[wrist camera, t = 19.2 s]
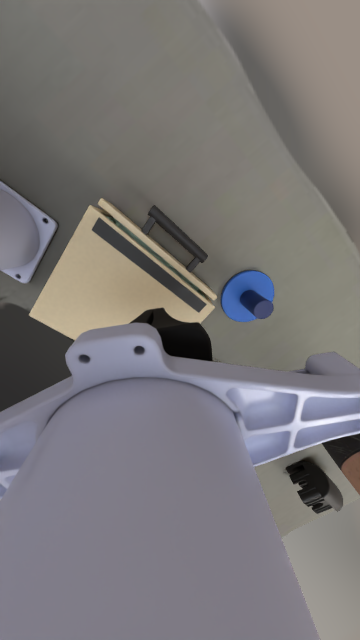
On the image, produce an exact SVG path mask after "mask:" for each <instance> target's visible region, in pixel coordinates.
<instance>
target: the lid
mask: <svg viewBox="0 0 360 640" xmlns="http://www.w3.org/2000/svg"><path fill="white" fill-rule="evenodd" d="M273 297H274V287H273V283H272V281H271V280H270V278H269V277H268V276H267V275H265V274H264V273H261V272H259V271H254V270H248V271H243V272H241V273H238V274H237V275H235V276H234V277H232V278H231V279H230V280H229V281H228V282H227V284H226V285H225V287H224V289H223V291H222V295H221V305H222V308H223V310H224V312H225V313H226V315H227V316H228V317H230V318H231V319H233V320H235V321H239V322H248V321H252V320H254V319H257V318H258V319H264V318H267V317H268V316H270V315H271V313H272V312H273V304H272V301H273Z"/></svg>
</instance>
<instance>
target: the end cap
mask: <svg viewBox="0 0 360 640" xmlns="http://www.w3.org/2000/svg"><path fill="white" fill-rule="evenodd" d="M286 470H287V472H288V473H289V474H290V475H289V476H290V478H291V480H292V482H293V484H294V485H295V484H297V483H298V484H299V486H300V487H302V488H303V489H302V490H299V491H297V492H298V494H299V496H300V498H301V500H302V501H303V503H304V504H306V505H307V506H308V507H309V506H313V507H312V510H313V511H314V512H315V513H317V514H318V513H321V512H323V511H326V510H328V509H331V508H334V509H335V510H336V511H337V512H338V511H340V510H341V508H342V506H343V498H342V495H341V492H340V491H339V489H338V488H337V486H336V485H335V484H334V483H333V482H332V481H331V479H330V478H329V477H328V476H327V475H326V474H325V473H324V472H323V471H322V470H321V469H320V468H319V467H318V466H316V465H314V464H312V463H309V462H305V461H300V462H298V463H296V464H294V465H291V466H289V467H287V468H286Z"/></svg>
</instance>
